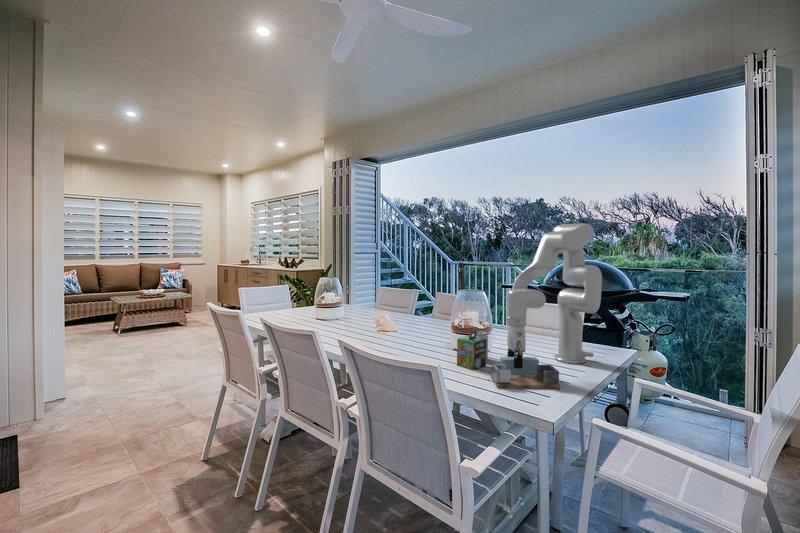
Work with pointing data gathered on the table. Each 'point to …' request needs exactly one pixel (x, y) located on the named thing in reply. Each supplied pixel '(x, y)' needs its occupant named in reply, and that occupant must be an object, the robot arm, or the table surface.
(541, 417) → the table surface
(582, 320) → the robot arm
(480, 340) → the chalk box
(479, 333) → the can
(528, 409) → the table surface
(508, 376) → the end cap
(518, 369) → the grey-blue block
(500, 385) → the board
